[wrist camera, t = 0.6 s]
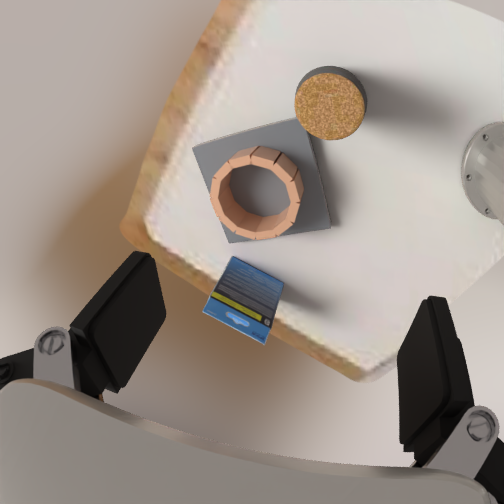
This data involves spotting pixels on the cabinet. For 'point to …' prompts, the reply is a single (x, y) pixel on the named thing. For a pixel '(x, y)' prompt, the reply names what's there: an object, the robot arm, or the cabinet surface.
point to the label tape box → (245, 299)
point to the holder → (264, 182)
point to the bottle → (330, 103)
